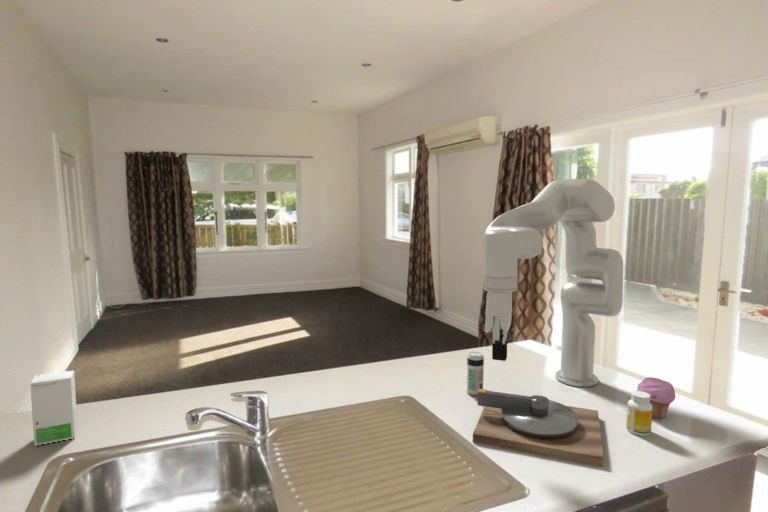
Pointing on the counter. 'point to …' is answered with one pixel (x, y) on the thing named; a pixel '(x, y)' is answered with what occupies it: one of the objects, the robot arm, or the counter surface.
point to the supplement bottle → (639, 414)
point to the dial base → (574, 447)
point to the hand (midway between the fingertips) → (499, 358)
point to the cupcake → (658, 395)
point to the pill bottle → (475, 372)
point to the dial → (532, 414)
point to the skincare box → (53, 407)
